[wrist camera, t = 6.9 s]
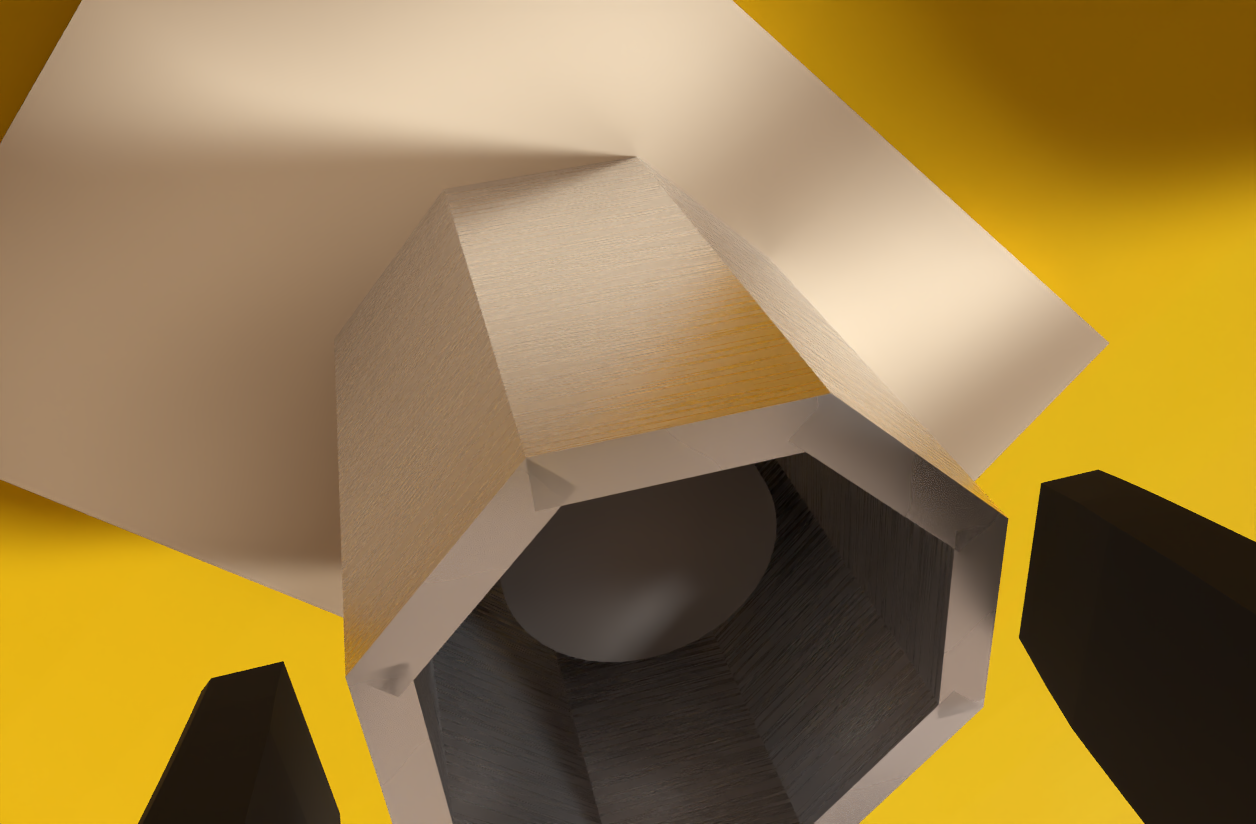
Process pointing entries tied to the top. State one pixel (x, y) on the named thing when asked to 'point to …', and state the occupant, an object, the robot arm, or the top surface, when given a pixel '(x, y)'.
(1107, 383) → the top surface
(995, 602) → the collar
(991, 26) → the top surface
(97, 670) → the top surface
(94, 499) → the board
